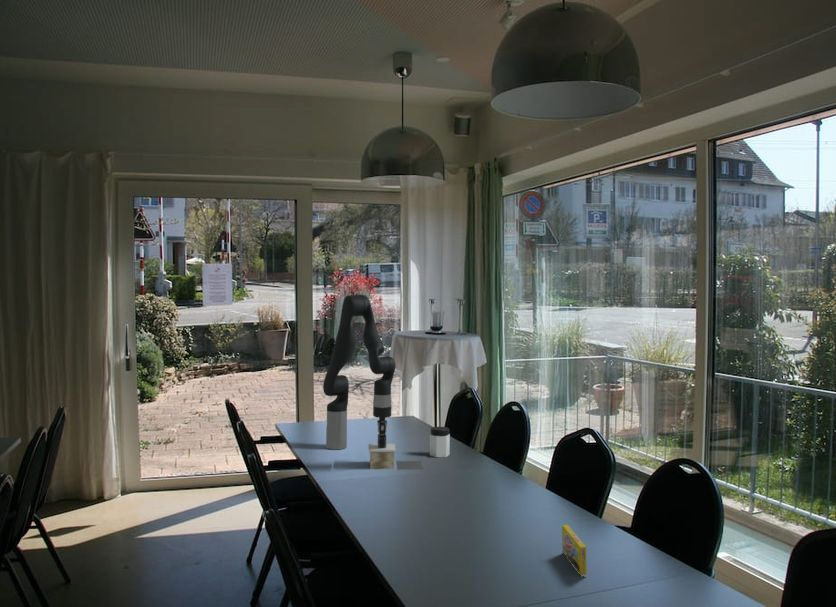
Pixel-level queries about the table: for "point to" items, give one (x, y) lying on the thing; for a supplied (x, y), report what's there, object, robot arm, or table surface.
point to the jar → (439, 442)
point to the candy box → (574, 549)
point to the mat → (409, 465)
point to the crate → (381, 460)
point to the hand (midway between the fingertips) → (381, 446)
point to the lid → (386, 449)
